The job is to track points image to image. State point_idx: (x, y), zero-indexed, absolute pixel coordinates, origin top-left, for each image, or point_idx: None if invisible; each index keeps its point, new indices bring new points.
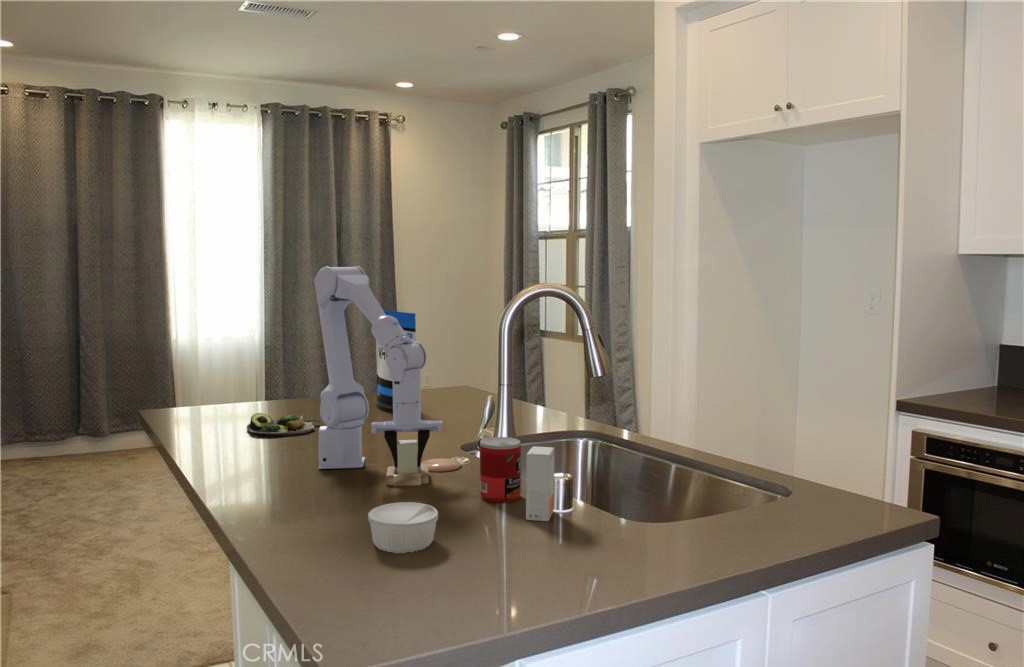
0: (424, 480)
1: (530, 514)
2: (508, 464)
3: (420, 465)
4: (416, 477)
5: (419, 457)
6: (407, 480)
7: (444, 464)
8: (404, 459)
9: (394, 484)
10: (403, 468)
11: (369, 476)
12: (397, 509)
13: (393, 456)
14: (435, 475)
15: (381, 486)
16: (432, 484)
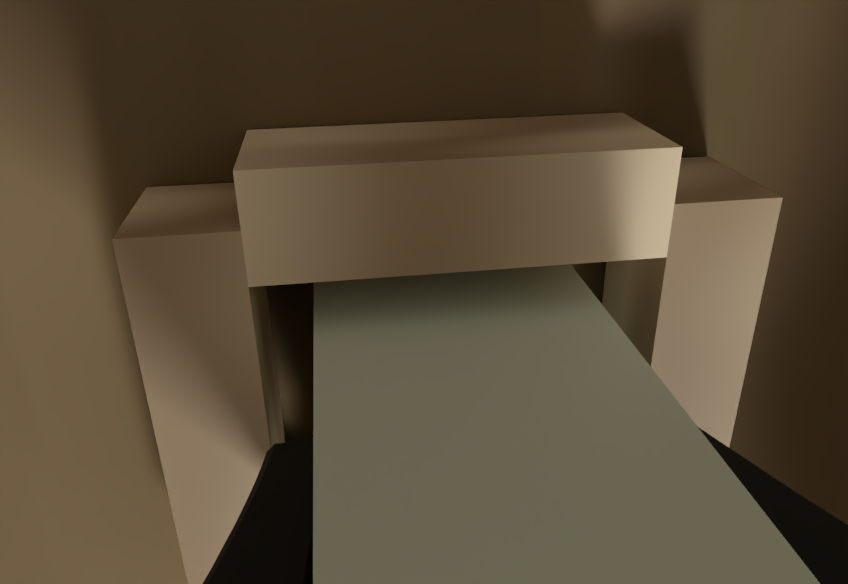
0: (196, 200)
1: None
2: None
3: (265, 457)
4: (311, 158)
5: (268, 541)
6: (450, 136)
7: None
8: (573, 449)
9: (620, 116)
10: (542, 354)
11: (830, 483)
12: None
13: (805, 504)
14: (123, 528)
15: (772, 112)
16: (82, 163)
